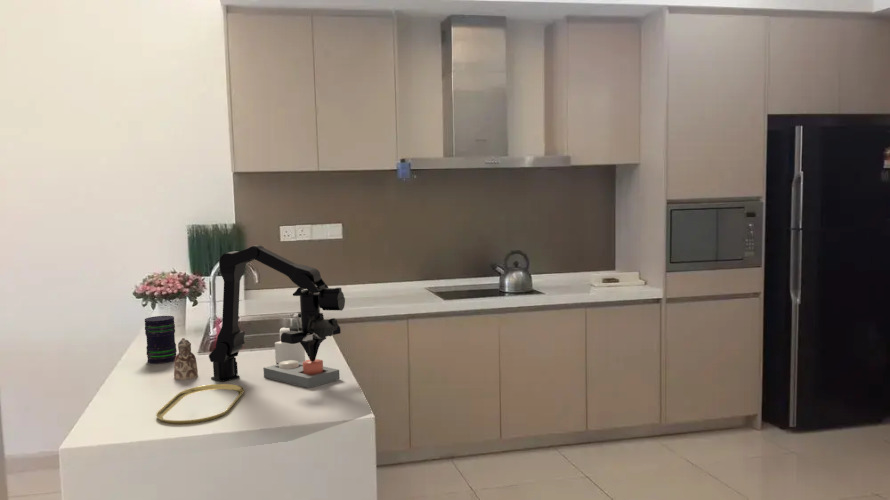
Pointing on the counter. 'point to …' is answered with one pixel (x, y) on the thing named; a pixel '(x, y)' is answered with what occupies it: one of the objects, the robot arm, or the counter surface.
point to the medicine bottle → (289, 349)
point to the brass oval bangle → (193, 390)
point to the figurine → (185, 362)
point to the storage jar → (160, 339)
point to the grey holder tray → (301, 375)
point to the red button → (312, 367)
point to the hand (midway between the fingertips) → (312, 361)
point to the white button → (288, 364)
